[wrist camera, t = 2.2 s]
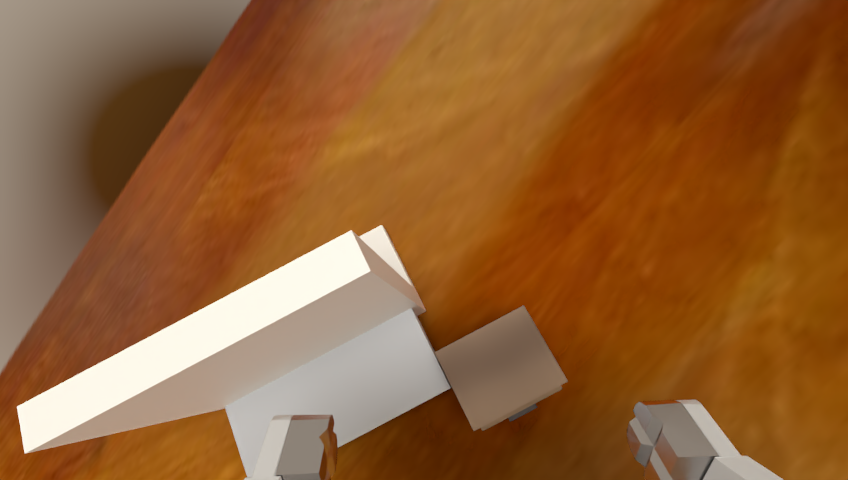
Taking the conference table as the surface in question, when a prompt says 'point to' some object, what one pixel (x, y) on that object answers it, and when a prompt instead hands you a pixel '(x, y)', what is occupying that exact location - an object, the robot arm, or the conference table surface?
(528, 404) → the cabinet
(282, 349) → the board
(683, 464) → the robot arm
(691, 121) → the conference table surface
